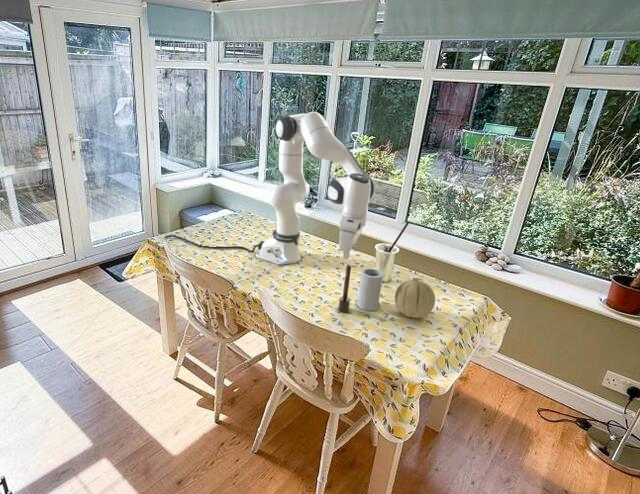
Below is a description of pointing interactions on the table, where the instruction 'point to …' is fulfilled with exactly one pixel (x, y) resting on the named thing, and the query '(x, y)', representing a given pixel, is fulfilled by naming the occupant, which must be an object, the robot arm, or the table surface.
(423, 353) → the table surface
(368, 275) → the grey hollow cylinder
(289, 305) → the table surface
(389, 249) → the glass
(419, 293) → the cantaloupe
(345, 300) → the brown pestle
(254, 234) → the table surface
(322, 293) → the table surface
